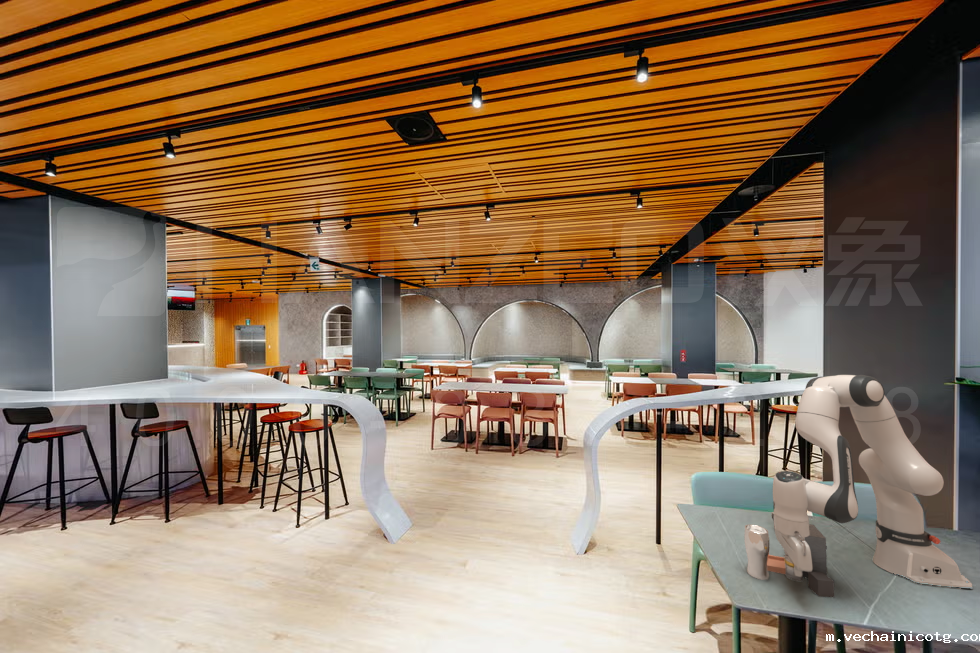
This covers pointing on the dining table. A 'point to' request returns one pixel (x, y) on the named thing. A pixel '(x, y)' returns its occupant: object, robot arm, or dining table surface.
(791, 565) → the cylinder
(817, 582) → the rubber block
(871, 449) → the robot arm
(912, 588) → the dining table surface
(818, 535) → the dark grey block
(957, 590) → the dining table surface
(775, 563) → the tray
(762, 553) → the beer glass
